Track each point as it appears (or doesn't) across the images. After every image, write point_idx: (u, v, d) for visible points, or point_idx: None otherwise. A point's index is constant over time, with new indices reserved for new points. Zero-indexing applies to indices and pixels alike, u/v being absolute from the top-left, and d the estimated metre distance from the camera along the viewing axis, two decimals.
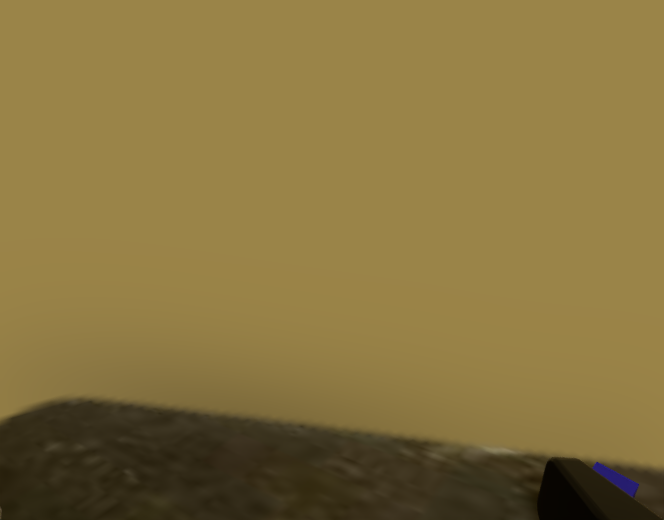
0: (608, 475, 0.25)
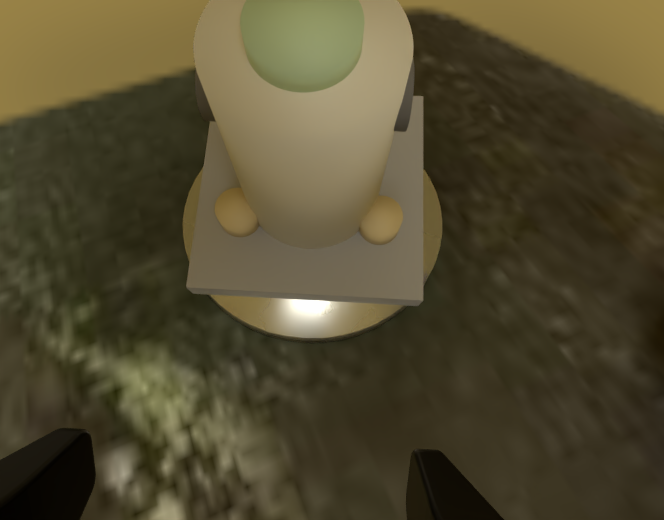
0: None
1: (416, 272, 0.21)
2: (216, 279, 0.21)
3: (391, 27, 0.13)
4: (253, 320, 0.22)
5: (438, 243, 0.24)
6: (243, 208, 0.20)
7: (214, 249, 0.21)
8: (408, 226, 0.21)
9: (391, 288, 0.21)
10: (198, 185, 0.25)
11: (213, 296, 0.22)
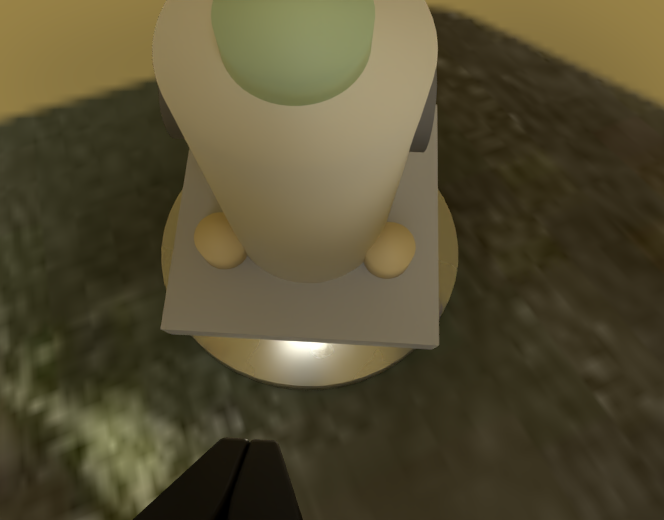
0: None
1: (430, 311, 0.18)
2: (196, 319, 0.18)
3: (408, 21, 0.10)
4: (240, 365, 0.19)
5: (454, 273, 0.21)
6: (228, 236, 0.17)
7: (194, 283, 0.18)
8: (421, 256, 0.18)
9: (401, 330, 0.18)
10: None
11: (194, 335, 0.19)
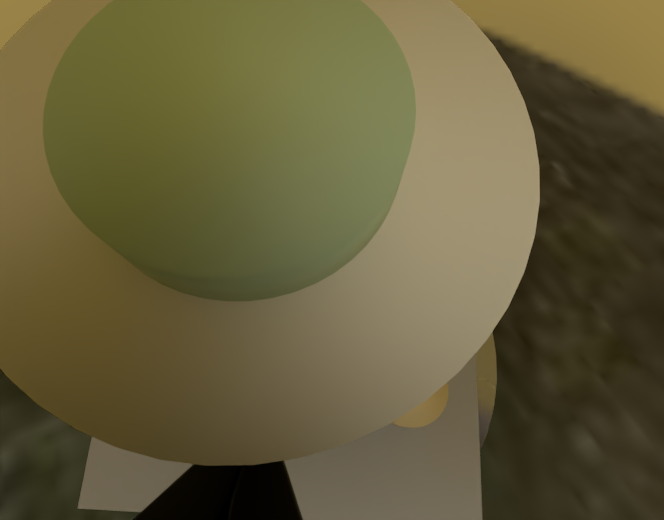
0: None
1: (469, 478, 0.12)
2: (130, 492, 0.12)
3: (476, 106, 0.05)
4: None
5: (492, 393, 0.15)
6: None
7: None
8: (453, 392, 0.13)
9: (428, 509, 0.12)
10: None
11: None
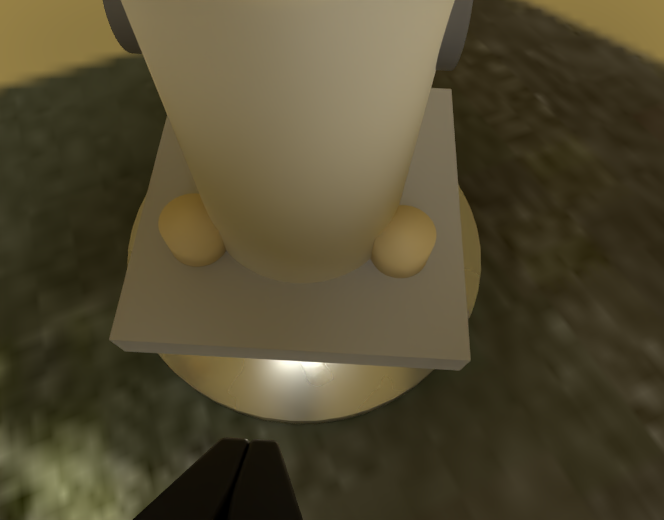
0: None
1: (457, 318, 0.14)
2: (156, 328, 0.14)
3: None
4: (219, 395, 0.15)
5: (476, 281, 0.17)
6: (201, 221, 0.14)
7: (157, 283, 0.14)
8: (441, 252, 0.15)
9: (421, 342, 0.14)
10: None
11: (165, 358, 0.16)
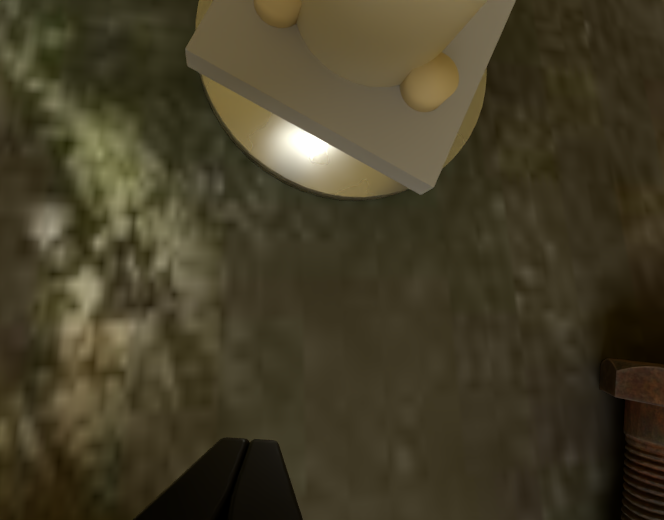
0: None
1: (439, 156, 0.18)
2: (223, 57, 0.17)
3: None
4: (241, 136, 0.19)
5: (460, 145, 0.22)
6: None
7: (234, 23, 0.17)
8: (451, 105, 0.19)
9: (407, 160, 0.18)
10: None
11: (208, 89, 0.19)
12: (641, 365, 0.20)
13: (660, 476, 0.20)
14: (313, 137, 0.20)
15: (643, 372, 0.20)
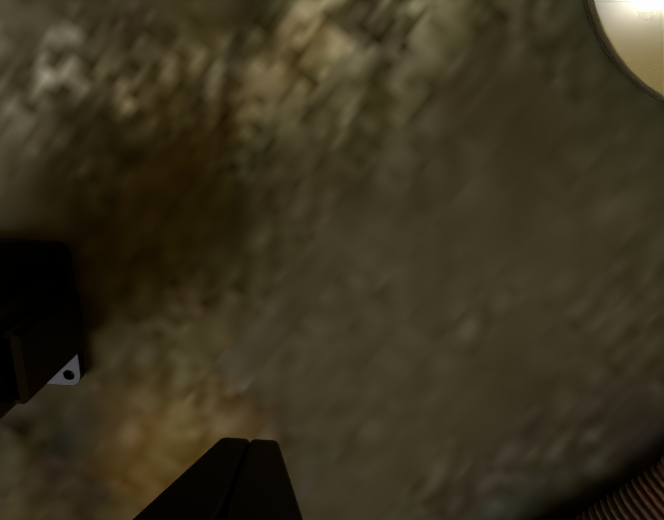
0: None
1: None
2: None
3: None
4: None
5: None
6: None
7: None
8: None
9: None
10: None
11: None
12: None
13: (662, 508, 0.20)
14: None
15: None
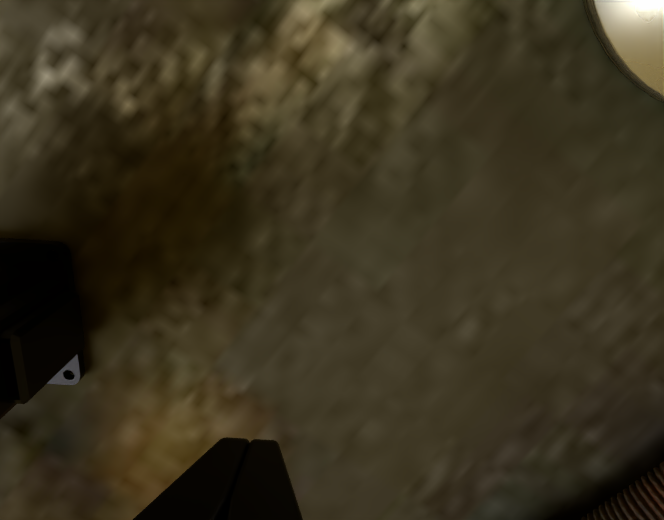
0: None
1: None
2: None
3: None
4: None
5: None
6: None
7: None
8: None
9: None
10: None
11: None
12: None
13: None
14: None
15: None
